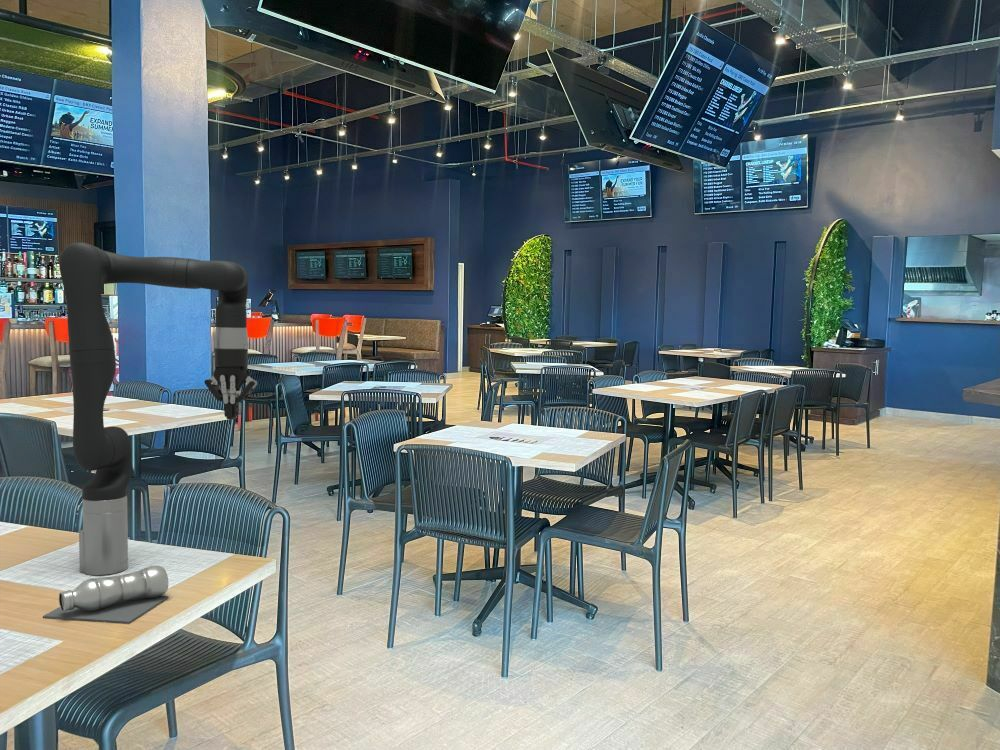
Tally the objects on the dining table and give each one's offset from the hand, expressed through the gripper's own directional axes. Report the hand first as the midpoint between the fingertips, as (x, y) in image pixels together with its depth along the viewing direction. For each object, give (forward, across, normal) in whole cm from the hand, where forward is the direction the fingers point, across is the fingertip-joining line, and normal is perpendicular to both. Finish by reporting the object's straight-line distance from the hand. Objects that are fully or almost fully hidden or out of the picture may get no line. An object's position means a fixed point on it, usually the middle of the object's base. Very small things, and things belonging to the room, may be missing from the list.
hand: (231, 419), depth 185 cm
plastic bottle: (+31, -3, -23) cm, 39 cm away
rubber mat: (+35, -11, -32) cm, 49 cm away
